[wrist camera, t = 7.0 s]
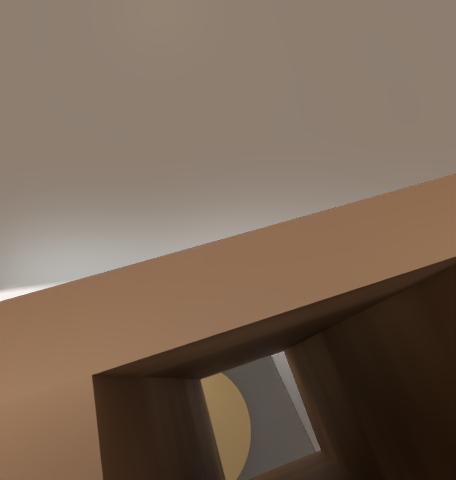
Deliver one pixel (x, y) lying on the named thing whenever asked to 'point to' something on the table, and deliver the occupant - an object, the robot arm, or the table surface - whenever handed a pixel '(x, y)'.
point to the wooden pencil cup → (246, 349)
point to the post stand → (254, 420)
